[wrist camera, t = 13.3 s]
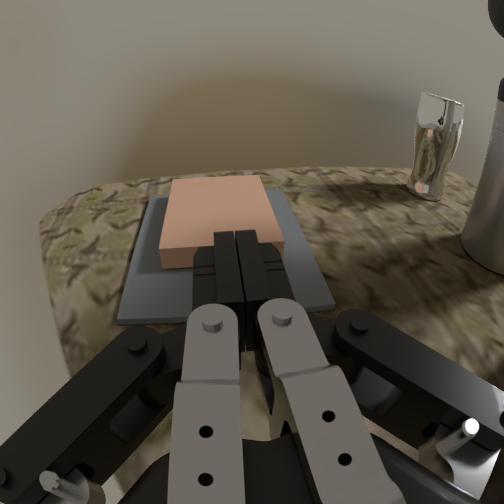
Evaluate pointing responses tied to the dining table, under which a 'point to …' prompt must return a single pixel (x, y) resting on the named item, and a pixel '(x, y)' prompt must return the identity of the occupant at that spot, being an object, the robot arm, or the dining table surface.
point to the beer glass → (434, 144)
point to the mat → (181, 279)
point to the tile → (214, 215)
